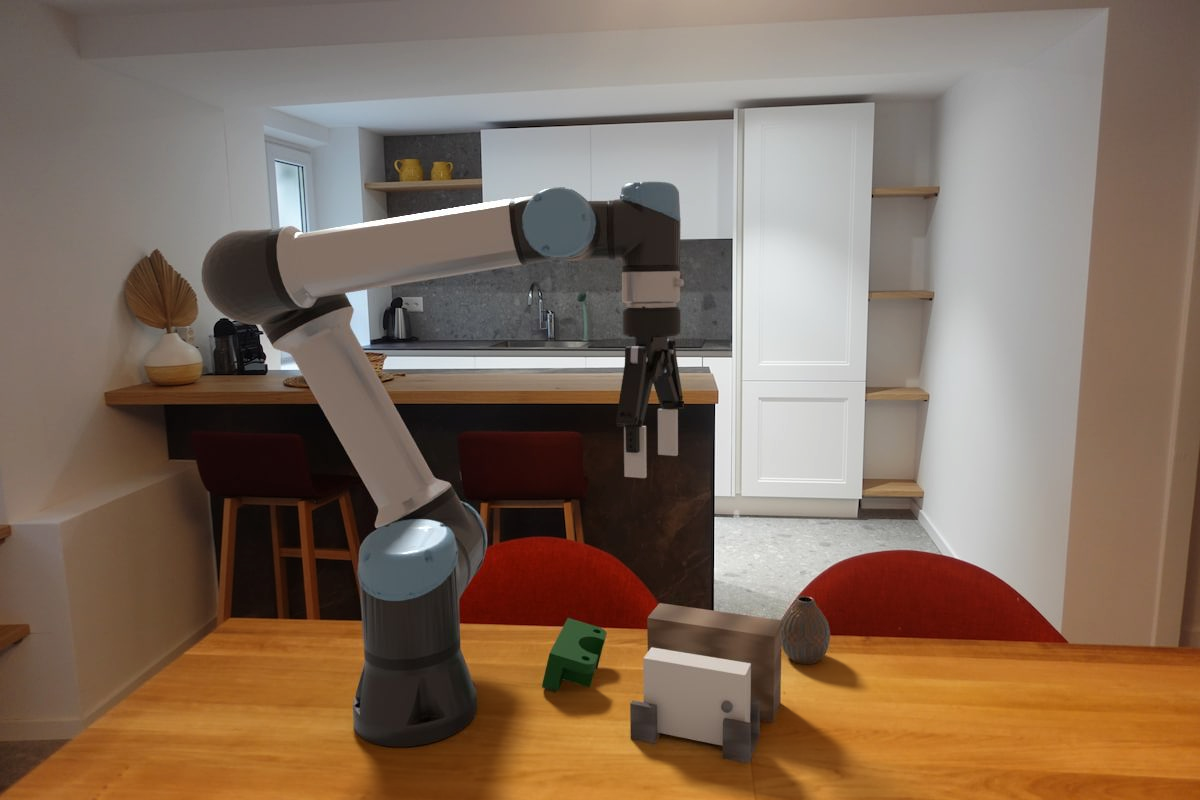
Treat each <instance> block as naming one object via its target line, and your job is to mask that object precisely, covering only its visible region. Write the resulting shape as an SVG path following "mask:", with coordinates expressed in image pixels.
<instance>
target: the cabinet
mask: <svg viewBox="0 0 1200 800" xmlns="http://www.w3.org/2000/svg"><path fill="white" fill-rule="evenodd" d="M646 625H647V628H646V629H647V630H646V631H647V634H646V635H647V652H648V651H649V650H650V649H651V647H653V648H659V649H665V650H671V651H677V652H683V653H690V654H696V655H702V656H708V657H714V658H720V659H727V660H733V661H739V662H745V663H751V697H750V723H749V722H744V721H739V720H734V719H728V718H724V720H723V746H722V758H723V759H727V760H732V761H736V762H742V763H746V764H750V762H751V760H752V757H753V754H754V751H755V749H756V746H757V745H758V744H757V743H758V741H759V738H760V727H761V726H760V724H761V721H763V722H767V723H774V721H775V719H776V717H777V713H778V711H779V707H780V704H781V692H782V690H781V689H782V686H781V685H782V646H781V641H782V619H775V618H769V617H763V616H755V615H746V614H739V613H733V612H725V611H718V610H712V609H711V610H710V609H705V608H697V607H692V606H691V607H690V606H684V605H682V606H681V605H676V604H669V603H662V602H659V603H658V604H657V606H656V607H655V608H654V609H653V610H652V611H651V612H650V614H649V615H648V617H647V623H646ZM629 705H630V708H629V709H630V710H629V711H630V712H629V714H630V717H629V719H630V727H629V728H630V739H631V740H636V741H641V742H645V743H651V744H656V743H657V740H658V739H659V737H660V736H661V734H662V733H658V732H657V705H655V704H649V703H644V701H639V700H638V701H637V700H631V702H630V704H629Z"/></svg>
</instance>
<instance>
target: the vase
mask: <svg viewBox="0 0 1200 800" xmlns="http://www.w3.org/2000/svg"><path fill="white" fill-rule="evenodd" d="M781 620H782V641H781V649H782V650H783V652H784V653H785V655H786V656H787V657H788V658H789V659H790V660H791V661H793V662H794V663H796V664H799V665H800V664H802V665H812V664H815V663H817V662H819V661H820V660H821V659H823V657H825V655H826V653H827V651H828V649H829V646H830V641H831V631H830V626H829V622H828V620H827V617H826V616H825V615H824V613H823V612H822V610H820V608H819V606H818V605H817V603H816V600H815V599H814V598H813V597H811V596H807V595H800V596H797V597H796V599H795V601H794V602H793V604H792V605H791V606H790V607H789V608H788V609H787V610H786V612H785V613H784V615H783V617H782V619H781Z"/></svg>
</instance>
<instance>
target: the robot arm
mask: <svg viewBox="0 0 1200 800" xmlns="http://www.w3.org/2000/svg"><path fill="white" fill-rule="evenodd" d="M620 191H621V192H620V195H619V198H618V199H614V200H588V199H586V198H585V197H584V196H583V195H582V194H581V193H579V192H577V191H576V190H574V189H569V188H565V187H564V186H563V187H562V186H560V187H555V186H553V187H548V188H545V189H542V190H541V191H539V192H536V193H535V194H531V195H525V196H520V197H515V198H507V199H506V198H505V199H500V200H495V201H494V200H493V201H489V202H482V203H477V204H470V205H465V206H464V205H463V206H458V207H453V208H452V207H451V208H446V209H441V210H434V211H427V212H422V213H421V212H420V213H416V214H410V215H403V216H397V217H391V218H386V219H380V220H372V221H367V222H363V223H362V222H361V223H356V224H349V225H343V226H339V227H331V228H325V229H319V230H313V231H312V230H311V231H308V232H307V231H305V232H303V231H301V230H300V229H298V228H297V227H295V226H292V225H287V226H280V227H275V228H267V229H265V228H264V229H242V230H237V231H232V232H229V233H228V234H225V235H224V236H221V238H219V239H217V240H216V241H215V242H214V243H213V244H212V245H211V246H210V248H209V249H208V251H207V252H206V254H205V256H204V259H203V260H202V261H203V262H202V266H201V283H202V286H203V290H204V292H205V295H206V297H207V298H208V300H209V302H210V303H211V305H213V307H214V308H215V309H217V311H219V312H220V313H221V314H222V315H223V316H225V317H227V318H228V319H230V320H233V321H235V322H238V323H241V324H246V325H259V326H260V327H261V329H262V330H263V332H264V334H265V336H266V338H267V340H268V341H269V342H270V344H271V346H272V348H273V349H275V350H277V351H281V352H284V353H287V354H289V355H290V356H291V357H292V359H293V361H294V363H295V365H296V366H297V367H298V369H299V371H300V374H302V376H303V379H304V381H305V382H306V383H307V385H308V387H309V389H310V390H311V392H312V394H313V396H314V398H315V400H316V401H317V403H318V405H319V407H320V409H321V410H322V411H323V413H324V416H325V417H326V419H327V420H328V422H329V424H330V426H331V428H332V429H333V431H334V433H335V435H336V436H337V438H338V440H339V442H340V443H341V445H342V446H343V448H344V450H345V452H346V455H348V457H349V459H350V461H351V463H352V465H353V466H354V468H355V470H356V471H357V473H358V475H359V477H360V478H361V480H362V482H363V484H364V485H365V487H366V489H367V491H368V492H369V495H370V496H371V498H372V499H373V501H374V503H375V505H376V506H377V511H378V512H377V515H376V519H375V522H374V527H375V528H376V530H374V531H372V532H370V533H369V534H368V535H367V536H366V537H365V538H364V540H363V541H362V543H361V544H360V546H359V551H358V564H357V571H356V574H357V579H358V583H359V585H358V586H359V596H360V597H359V598H360V599H359V600H360V611H361V613H360V614H361V626H362V639H363V640H362V641H363V651H364V652H363V655H364V657H363V658H364V661H363V665H362V670H361V674H360V678H359V679H358V680H359V681H358V684H357V688H356V693H355V697H354V699H353V704H352V714H353V715H352V718H353V728H354V730H355V731H356V733H357V734H358V735H359V736H360V737H361V738H362V739H364V740H366V741H368V742H371V743H373V744H376V745H380V746H387V747H393V748H394V747H396V748H397V747H401V748H403V747H404V748H405V747H415V746H416V747H417V746H423V745H427V744H432V743H436V742H438V741H441V740H444V739H446V738H449V737H451V736H453V735H454V734H457V733H458V732H460V731H461V730H463V729H464V728H465V727H467V726H468V725H469V724H470V723H471V722H472V721H473V719H474V718H475V717H476V714H477V711H478V693H477V687H476V684H475V682H474V680H473V679H472V676H471V672H470V670H469V666H468V665H467V662H466V659H465V657H464V654H463V651H462V647H461V626H460V625H461V624H460V623H461V622H460V598H461V597H462V595H463V594H464V592H465V590H466V589H467V587H468V585H469V584H470V583H471V581H472V579H473V578H474V577H475V576H476V575H477V574H478V572H479V570H480V568H482V565H483V563H484V559H485V557H486V556H485V555H486V551H487V548H488V534H487V533H488V532H487V528H486V525H485V523H484V521H483V518H482V517H481V515H480V514H479V513H478V511H477V510H476V509H475V508H474V507H473V506H471V504H469V503H467V502H464V501H461V500H460V498H459V496H458V495H457V492H456V491H455V489H454V487H453V485H452V484H451V483H450V482H449V481H445V480H443V479H439V478H436V477H435V476H434V475H433V472H432V470H431V469H430V467H429V466H428V463H427V461H426V460H425V458H424V456H423V455H422V453H421V451H420V449H419V447H418V446H417V443H416V441H415V440H414V437H412V434H411V432H410V431H409V429H408V428H407V426H406V424H405V422H404V420H403V419H402V417H401V415H400V413H399V411H398V410H397V408H396V406H395V405H394V403H393V400H392V398H391V397H390V395H389V393H388V392H387V390H386V388H385V386H384V385H383V383H382V381H381V379H380V378H379V376H378V374H377V372H376V370H375V368H374V367H373V365H372V363H371V361H370V360H369V357H368V356H367V354H366V352H365V350H364V349H363V347H362V345H361V343H360V342H359V339H358V338H357V335H356V334H355V333H354V330H353V329H352V326H351V321H352V318H353V314H354V310H355V309H354V307H353V305H352V304H351V302H350V300H349V298H348V295H347V294H348V293H354V292H359V291H360V292H361V291H367V290H372V289H379V288H384V287H386V288H387V287H392V286H399V285H404V284H410V283H416V282H423V281H429V280H434V279H440V278H446V277H453V276H459V275H466V274H473V273H479V272H484V271H490V270H497V269H503V268H508V267H509V268H510V267H515V266H521V265H531V264H539V263H542V262H553V263H554V262H555V263H560V262H562V261H563V262H564V261H566V262H571V261H576V262H577V261H578V262H579V261H602V260H609V261H611V260H612V261H614V260H621V263H622V264H621V265H622V267H621V268H622V269H621V302H623V304H626V307H624V308H623V310H622V333H623V335H624V336H626V337H631V338H632V337H634V339H635V344H634V346H633V345H631V346H630V345H626V347H625V348H624V366H623V367H624V368H623V373H622V379H621V380H622V381H621V386H620V392H619V399H618V405H617V412H616V418H615V424H616V426H617V427H623V464H624V465H623V466H624V467H623V468H624V470H623V473H624V475H623V476H624V477H625V478H637V479H646V478H647V475H648V473H647V465H648V464H647V463H648V462H647V425H644V421H645V417H646V414H647V413H646V412H647V410H648V405H649V400H650V397H651V393H652V387H653V386H654V390H655V393H656V396H657V399H658V403H659V405H660V408H658V409H657V455H658V456H671V457H674V456H675V457H677V456H678V455H679V435H678V434H679V420H678V418H679V410H678V409H684V408H685V401H684V400H683V398H684V396H683V390H682V385H681V378H680V371H679V364H678V358H677V348H676V347H677V345H676V344H677V342H676V339H675V338H670V337H677V336H679V334H680V333H681V309H680V308H679V306H676V304H677V303H679V302H680V301H681V288H680V287H683V286H684V285H685V281H684V279H682V278H681V219H682V218H681V207H680V191H679V189H678V188H677V187H676V185H674V184H673V183H671V182H666V181H665V182H664V181H641V182H630V183H626V184H623V185H622V187H621V190H620ZM668 337H669V338H668Z"/></svg>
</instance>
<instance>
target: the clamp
mask: <svg viewBox="0 0 1200 800" xmlns="http://www.w3.org/2000/svg"><path fill="white" fill-rule="evenodd" d="M606 638H607V631H606V630H605V629H604V628H603V627H600V626H598V625H597V626H596V625H594V624H589V623H587V622H583V621H579V620H576V619H573V618H570V617H567V619H566V621H565V623H564V624H563V626H562V629H561V631H560V632H559V634H558V636H557V637H556V640H555V642H554V644H553V646H552V648H551V649H550V651H549V655H548V658H547V663H546V667H545V672H544V676H543V680H542V684H541V689H542V688H543V689H545V690H548V691H549V690H550V691H551V692H555V693H558V692H559V690H560V687H561V685H562V683H563V681H568V682H571V683H573V684H577V685H580V686H583V687H585V688H591V686H592V682H593V678H594V674H595V670H598V668H599V663H600V659H601V655H602V651H603V648H604V645H605V642H606Z"/></svg>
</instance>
